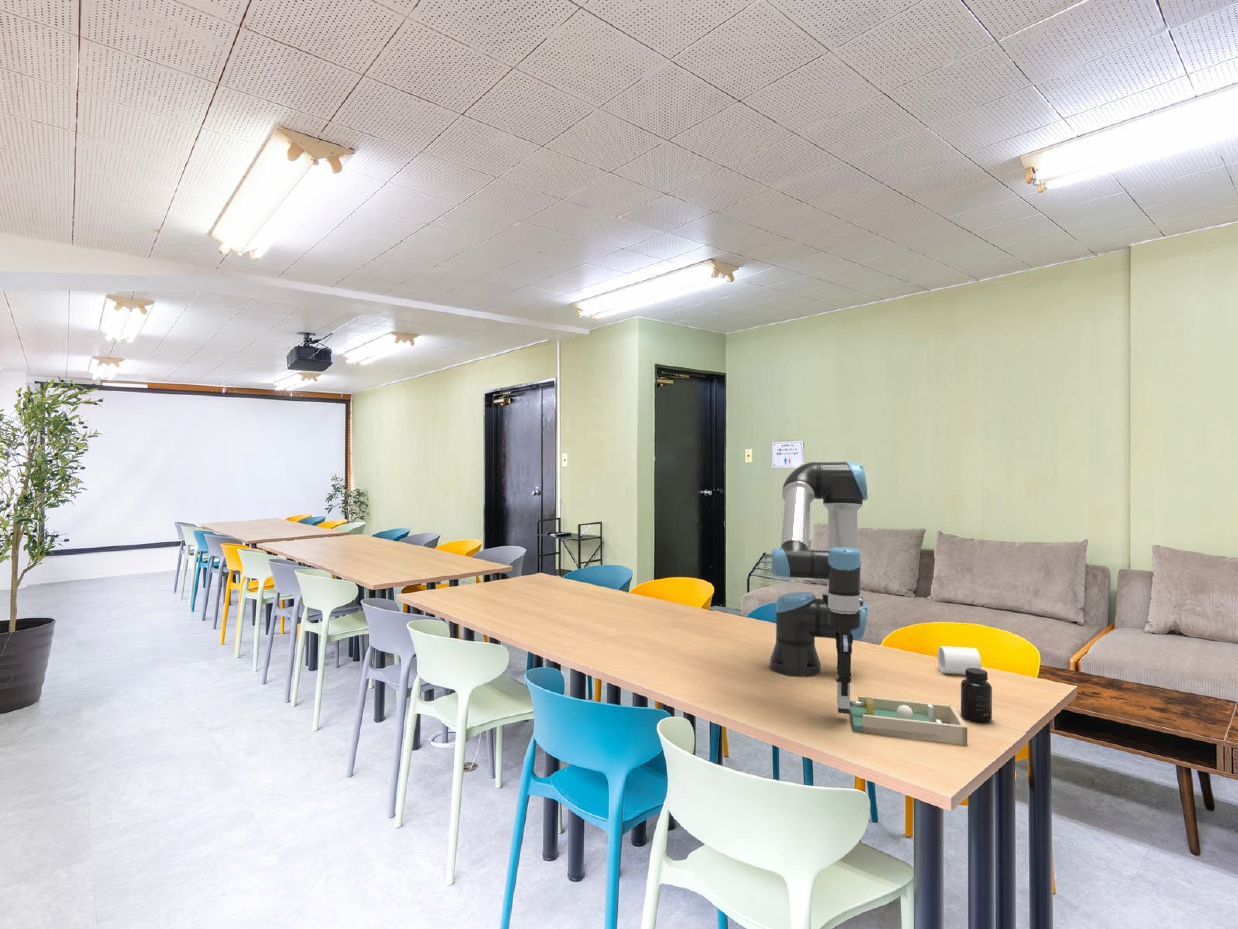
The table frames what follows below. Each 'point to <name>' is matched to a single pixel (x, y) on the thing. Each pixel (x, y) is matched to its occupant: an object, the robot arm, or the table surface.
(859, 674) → the table surface
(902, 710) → the ball
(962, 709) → the supplement bottle
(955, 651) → the mug
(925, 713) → the pitch
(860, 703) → the uneven dumbbell
